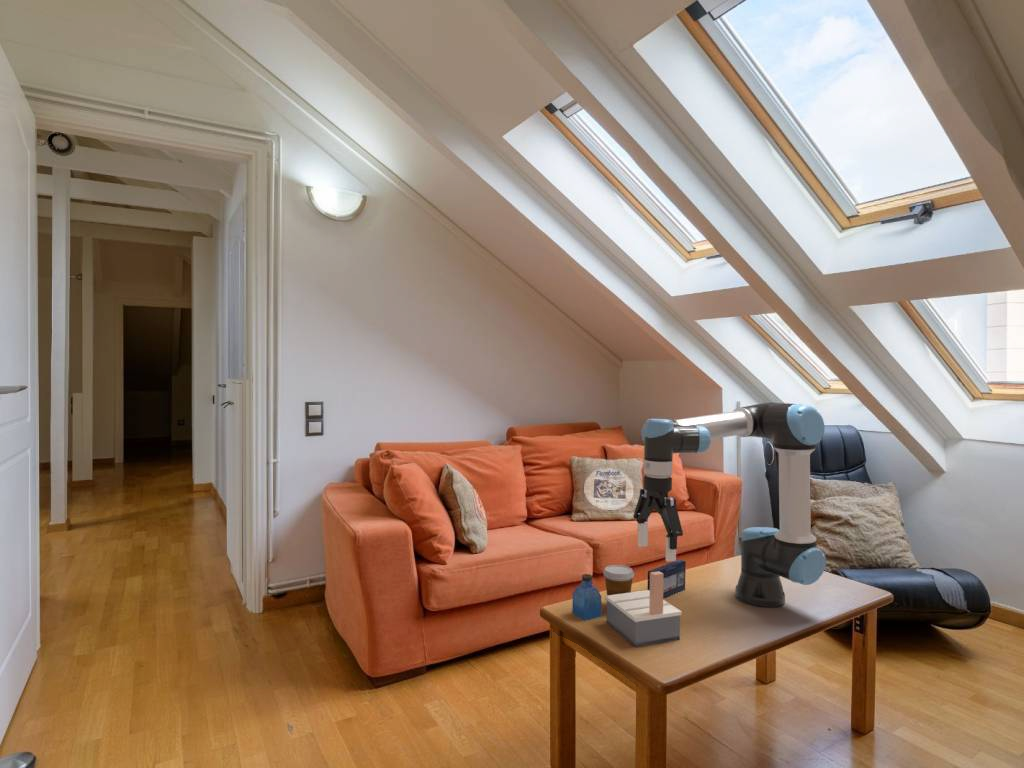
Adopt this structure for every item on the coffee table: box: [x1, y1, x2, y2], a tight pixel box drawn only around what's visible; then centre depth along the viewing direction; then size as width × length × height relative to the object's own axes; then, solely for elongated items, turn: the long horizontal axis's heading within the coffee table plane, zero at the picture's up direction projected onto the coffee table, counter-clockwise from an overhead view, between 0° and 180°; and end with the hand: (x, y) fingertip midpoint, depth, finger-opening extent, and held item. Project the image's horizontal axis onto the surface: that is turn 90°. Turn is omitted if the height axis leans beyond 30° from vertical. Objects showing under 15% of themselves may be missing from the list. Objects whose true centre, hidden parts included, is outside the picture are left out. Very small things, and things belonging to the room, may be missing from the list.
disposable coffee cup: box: [603, 564, 635, 596], centre depth 183 cm, size 10×10×12 cm
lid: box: [605, 571, 683, 622], centre depth 166 cm, size 15×17×13 cm
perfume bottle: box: [571, 573, 602, 622], centre depth 177 cm, size 6×6×12 cm
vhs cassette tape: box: [647, 559, 687, 600], centre depth 194 cm, size 18×3×10 cm, turn 129°
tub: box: [606, 600, 681, 648], centre depth 167 cm, size 14×16×7 cm
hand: (656, 553), depth 159 cm, fingers open, 13 cm apart
